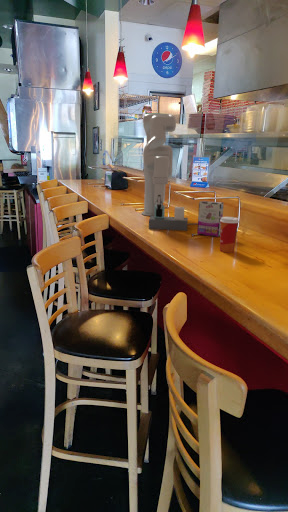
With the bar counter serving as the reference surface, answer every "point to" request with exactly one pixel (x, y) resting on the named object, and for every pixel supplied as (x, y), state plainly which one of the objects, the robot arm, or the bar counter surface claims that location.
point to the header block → (170, 221)
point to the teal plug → (162, 212)
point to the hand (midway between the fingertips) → (159, 215)
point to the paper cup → (228, 234)
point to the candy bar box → (210, 218)
